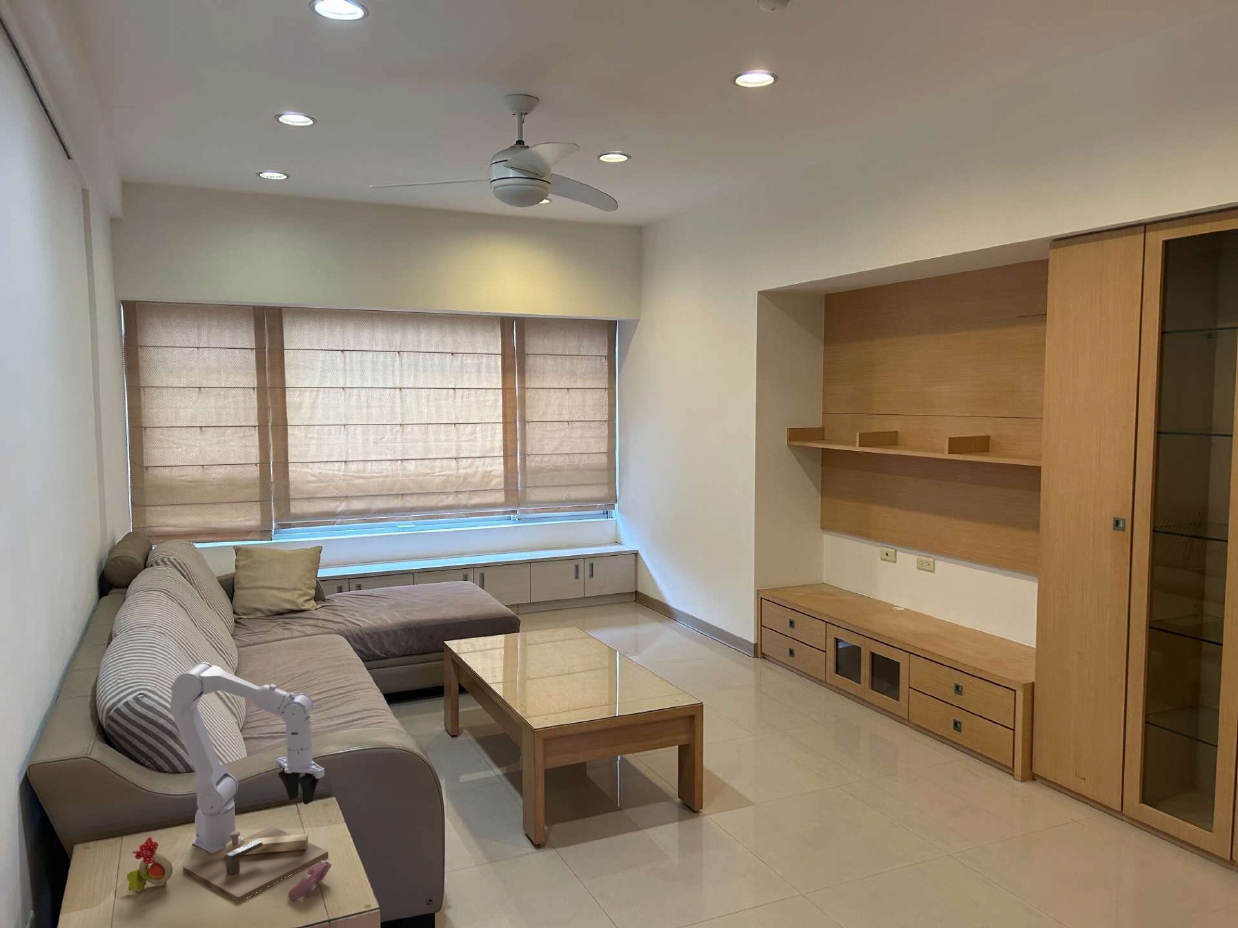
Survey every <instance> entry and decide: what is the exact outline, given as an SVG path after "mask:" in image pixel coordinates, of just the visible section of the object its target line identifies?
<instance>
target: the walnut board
mask: <svg viewBox="0 0 1238 928" xmlns="http://www.w3.org/2000/svg"><path fill="white" fill-rule="evenodd" d="M290 835H292V834H291V833H290V832H289V833H288V832H287V831H285V830H282V829H280V828H278V827H276V826H274V825H271V826H268V827H267V828H265V829H262V830H260V831H258V832H256V833H253V834H252V835H250V836H247V837H245V838H243V839H242V840H246V839H257V838H268V837H279V836H290ZM326 858H329V851H328V850H326V849H324V848H322V847H319V846H317V845H315V844H313V843H311V842H309V841H308V844H307V847H306V849H301V850H290V851H280V852H269V853H258V854H248V855H242V856H240V857H239V863H240V872H239V873H237V874H235V875H233V876H231V875H229V874H227V872H226V847H225V848H223V849H220V850H218V851H216V852H214V853H210V854H208V855H205V856H203V857H201V858H198V859H196V860H195V861H192V862H190V863H188V864H185V865H183V866H182V872H183V873H185V874H187V875H189V876H190V877H192V878H193V879H195V880H197V881H199V882H200V883H203V884H204V885H205V886H208V887H210V888H212V889H213V890H215V891H217V892H219V893H220V892H221V893H220V894H222V895H224V894H225V895H224V896H226V895H227V896H226V897H227V898H229V897H230V899H232V900H233V899H234V900H233V901H235V902H237V903H241V902H242V901H245V900H246V898H247V897H249V896H251V895H252V896H254V895H256V894H257V893H256V892H258V893H260V892H261V891H260V890H262V889H264V888H266V887H268V886H270V887H271V885H272V886H274V885H275V884H274V883H276V882H277V881H280V880H281V879H283V880H285V879H286V878H285V877H287V878H289V877H290V876H289V875H291V874H293V875H295V874H296V873H295V872H297V873H299V872H300V871H299V870H301V871H303V870H305V869H306V867H307V868H308V867H311V866H312V865H314V864H316V863H318V862H320V861H321V860H323V859H326ZM304 868H305V869H304ZM302 869H303V870H302ZM298 871H299V872H298ZM294 873H295V874H294ZM288 876H289V877H288ZM291 876H292V875H291ZM284 878H285V879H284ZM281 881H282V880H281ZM281 881H280V882H281ZM273 884H274V885H273ZM276 884H277V883H276ZM268 888H269V887H268ZM266 889H267V888H266ZM264 890H265V889H264ZM259 891H260V892H259ZM262 891H263V890H262ZM255 893H256V894H255ZM253 894H254V895H253ZM252 896H251V897H252ZM249 898H250V897H249ZM247 899H248V898H247Z"/></svg>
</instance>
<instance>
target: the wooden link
mask: <svg viewBox="0 0 1238 928" xmlns="http://www.w3.org/2000/svg"><path fill="white" fill-rule="evenodd" d="M238 836H239V837H241V831H239V830H236V831H234V832H232V833H230V837H231V838H232V841H230V842H228V843H227V844H226V853H229V852H231V851H233V850H235V849H237V848H239V847H241V846H244V845H246V844H248V843H250V842H252V841H254V840H257V839H258V840H260V841H262V846H261V847H259V848H257V849H255V850H253V851H250V852H248V853H246V854H244V855H248V854H258V853H269V852H280V851H290V850H301V849H306V847H307V844H308V842H309V834H308V833H304V834H303V833H302V834H291V835H290V836H279V837H268V838H257V839H246V840H242V839H238Z"/></svg>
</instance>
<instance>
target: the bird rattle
mask: <svg viewBox="0 0 1238 928" xmlns="http://www.w3.org/2000/svg"><path fill="white" fill-rule="evenodd" d="M158 847H159V843H158V842H157V841H153V837H152V836H149V837H148V838H147V839H146V840H145V842H144V843H143V844H140V845H139V848H138V849H139V850H134V851H132V854H135V856H134V858H135V859H136V860H140V859H141V860H140V863H139V869H134V870H132V871H130V872H128V873H127V875H126V880H127V881H128V882H129V883H128V891H130V892H131V891H133V890H135V889H136V891H138V893H141V892H143V891H144V889H145V888H144V887H145V886H144V884H146V883H147V882H148V883H149V884H152V885H156V886H157V885H158V886H160V887H165V886H166V885H167V882H168V881H169V880H170V879H171V877H172V875H173V871H174V870H173V869H174V868H173V864H172V862H171V861H170V860H169V858H167V857H166V856H165V855H163V854H160V853H157V852H156V851H157V850H158Z"/></svg>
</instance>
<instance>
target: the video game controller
mask: <svg viewBox="0 0 1238 928" xmlns="http://www.w3.org/2000/svg"><path fill="white" fill-rule="evenodd" d="M331 868H332V863H331V862H328V861H326V860H323V859H322V860H320V861H318V862H316V863H314V864H312V865H310V866H309V869H308V870H307V872H306V874H305V875H303V877H302V878H301V880H300V881H299V883H297V884H296V885H295V886H293V887H292V888H291V889H290V890H289V891H288V893H287V897H288V899H289V900H290V901H297V900H299V899H301V898H302V897H304V896H305V895H307V896H310V895H311V893H312V892H313V891H314V890H315V889H316V888H318V887H319V886H320V885H322V883H323V879H324V878H325V877H326V875H327V874H328V873H329V871H330V869H331ZM317 886H318V887H317Z"/></svg>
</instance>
